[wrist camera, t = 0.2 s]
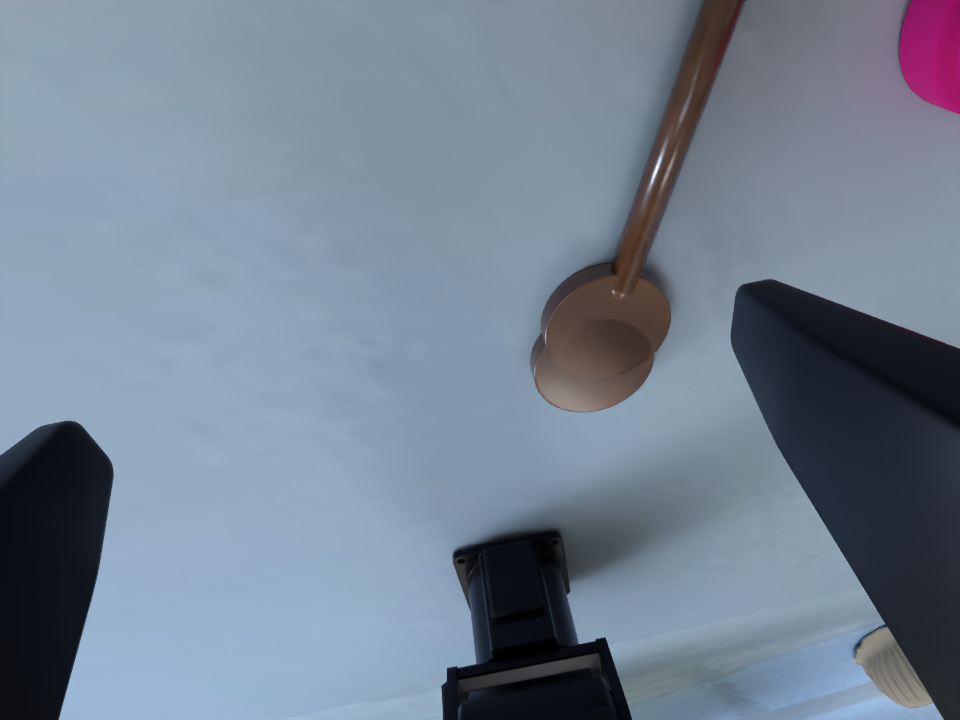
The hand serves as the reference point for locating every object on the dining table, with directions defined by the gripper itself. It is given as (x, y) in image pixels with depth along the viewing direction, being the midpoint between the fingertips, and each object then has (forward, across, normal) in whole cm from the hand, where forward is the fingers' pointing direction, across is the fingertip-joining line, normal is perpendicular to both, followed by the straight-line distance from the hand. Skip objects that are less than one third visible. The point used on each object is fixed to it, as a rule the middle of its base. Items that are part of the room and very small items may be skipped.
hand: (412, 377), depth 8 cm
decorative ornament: (+14, -29, +48) cm, 58 cm away
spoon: (+15, -8, +5) cm, 17 cm away
